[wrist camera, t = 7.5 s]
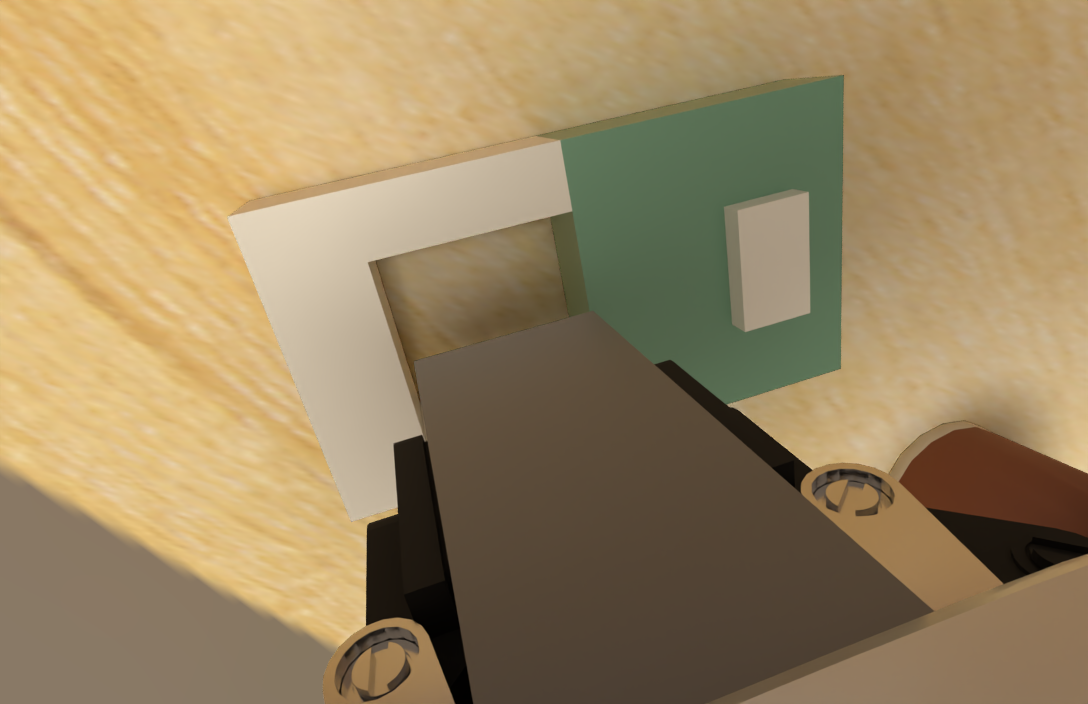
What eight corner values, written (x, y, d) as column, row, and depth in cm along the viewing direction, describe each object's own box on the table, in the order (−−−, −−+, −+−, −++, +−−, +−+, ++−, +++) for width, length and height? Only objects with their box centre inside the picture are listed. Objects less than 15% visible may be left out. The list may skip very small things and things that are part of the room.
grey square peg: (593, 310, 13) (966, 639, 5) (618, 461, 15) (934, 901, 7) (413, 361, 13) (497, 839, 4) (460, 512, 14) (587, 1073, 6)
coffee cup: (1030, 482, 32) (1358, 669, 22) (890, 583, 32) (1145, 819, 22) (992, 358, 28) (1371, 512, 18) (833, 474, 29) (1110, 697, 18)
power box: (783, 79, 21) (862, 73, 18) (790, 340, 25) (855, 377, 22) (248, 200, 18) (219, 221, 15) (354, 472, 22) (350, 537, 19)
